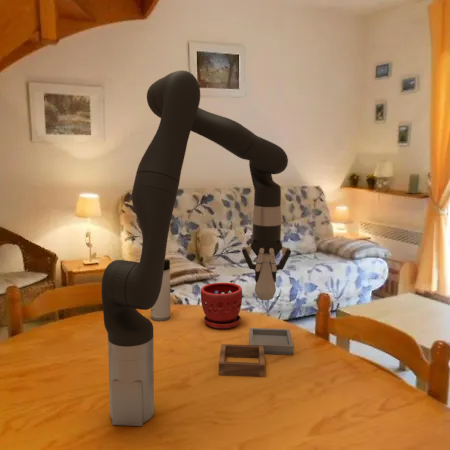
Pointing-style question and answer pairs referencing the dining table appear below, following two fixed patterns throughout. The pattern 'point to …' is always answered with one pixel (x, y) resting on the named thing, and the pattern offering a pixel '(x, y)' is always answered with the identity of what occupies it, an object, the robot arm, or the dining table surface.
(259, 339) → the tray
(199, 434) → the dining table surface
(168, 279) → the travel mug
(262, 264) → the salt shaker
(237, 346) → the rectangular frame
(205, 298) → the plant pot
